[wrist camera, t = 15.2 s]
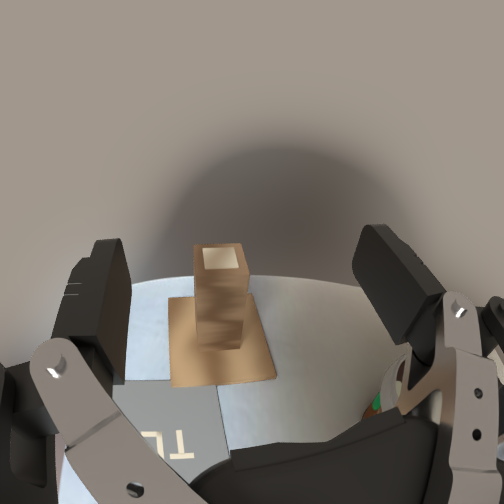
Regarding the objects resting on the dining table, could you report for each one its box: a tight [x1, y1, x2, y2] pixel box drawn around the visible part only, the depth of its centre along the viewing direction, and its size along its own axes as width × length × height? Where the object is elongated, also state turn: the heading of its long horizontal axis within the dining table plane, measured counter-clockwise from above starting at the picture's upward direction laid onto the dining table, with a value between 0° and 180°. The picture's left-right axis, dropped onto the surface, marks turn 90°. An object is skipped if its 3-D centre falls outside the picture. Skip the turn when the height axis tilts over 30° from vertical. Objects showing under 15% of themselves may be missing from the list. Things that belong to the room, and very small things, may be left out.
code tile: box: [112, 380, 229, 483], centre depth 24 cm, size 12×16×1 cm
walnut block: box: [193, 243, 250, 352], centre depth 32 cm, size 5×5×12 cm
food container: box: [361, 354, 406, 421], centre depth 26 cm, size 12×6×10 cm, turn 101°
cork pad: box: [168, 293, 276, 388], centre depth 36 cm, size 12×14×1 cm
